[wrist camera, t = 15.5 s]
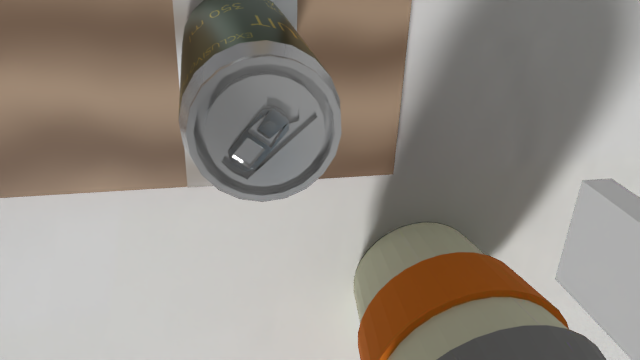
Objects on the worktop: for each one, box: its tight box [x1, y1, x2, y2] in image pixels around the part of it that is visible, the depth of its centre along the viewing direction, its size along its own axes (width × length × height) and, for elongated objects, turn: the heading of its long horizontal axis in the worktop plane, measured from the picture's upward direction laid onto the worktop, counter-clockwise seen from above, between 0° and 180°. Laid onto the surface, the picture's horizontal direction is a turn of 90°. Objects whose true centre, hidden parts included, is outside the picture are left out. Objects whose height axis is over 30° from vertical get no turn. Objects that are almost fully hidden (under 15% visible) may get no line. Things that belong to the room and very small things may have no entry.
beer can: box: [178, 0, 342, 202], centre depth 23 cm, size 5×5×12 cm
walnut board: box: [0, 0, 412, 198], centre depth 28 cm, size 16×30×2 cm, turn 87°
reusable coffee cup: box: [354, 222, 606, 360], centre depth 33 cm, size 12×13×15 cm
